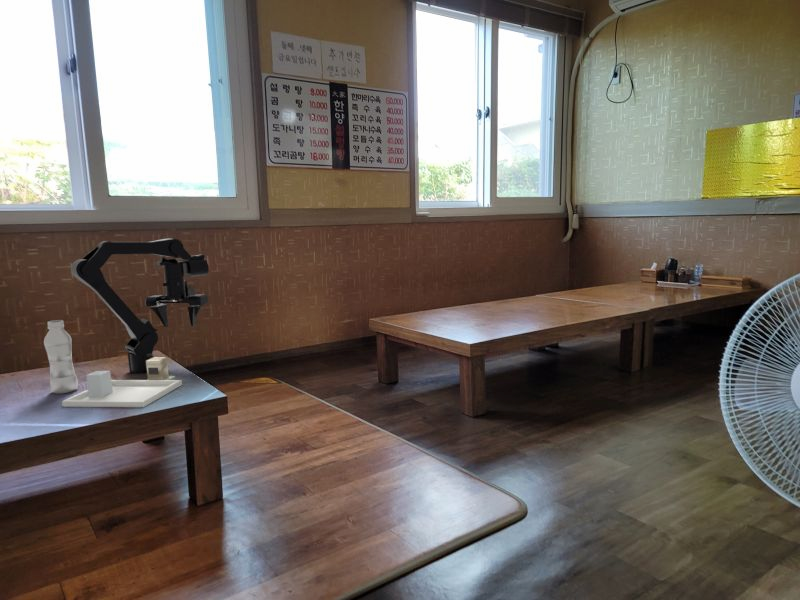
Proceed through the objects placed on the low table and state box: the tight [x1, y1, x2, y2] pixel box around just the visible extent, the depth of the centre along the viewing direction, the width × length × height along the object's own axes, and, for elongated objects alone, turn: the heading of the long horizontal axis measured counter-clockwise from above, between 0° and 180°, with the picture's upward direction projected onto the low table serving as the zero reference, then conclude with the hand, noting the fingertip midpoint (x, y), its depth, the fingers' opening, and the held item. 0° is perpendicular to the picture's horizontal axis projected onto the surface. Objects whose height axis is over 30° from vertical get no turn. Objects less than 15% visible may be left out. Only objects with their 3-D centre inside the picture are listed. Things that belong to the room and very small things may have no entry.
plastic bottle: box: [43, 319, 79, 395], centre depth 150 cm, size 6×7×20 cm
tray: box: [61, 379, 183, 408], centre depth 145 cm, size 22×18×2 cm
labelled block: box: [146, 356, 170, 380], centre depth 159 cm, size 4×4×6 cm
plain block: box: [85, 370, 113, 397], centre depth 146 cm, size 4×4×6 cm
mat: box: [146, 375, 176, 380], centre depth 159 cm, size 7×6×1 cm
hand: (179, 326), depth 176 cm, fingers open, 9 cm apart
